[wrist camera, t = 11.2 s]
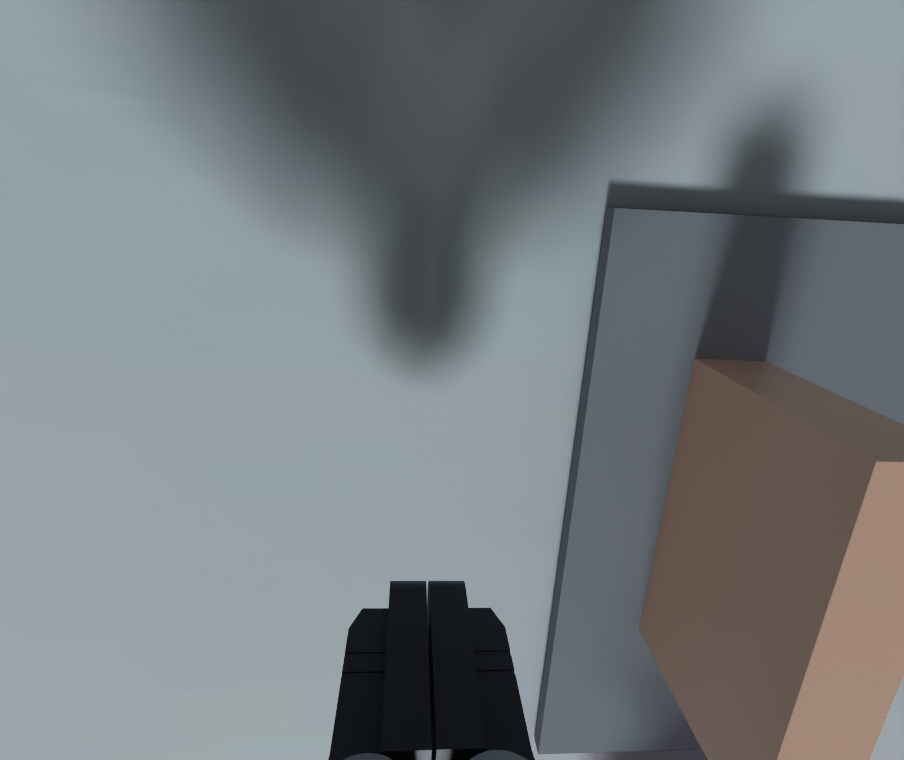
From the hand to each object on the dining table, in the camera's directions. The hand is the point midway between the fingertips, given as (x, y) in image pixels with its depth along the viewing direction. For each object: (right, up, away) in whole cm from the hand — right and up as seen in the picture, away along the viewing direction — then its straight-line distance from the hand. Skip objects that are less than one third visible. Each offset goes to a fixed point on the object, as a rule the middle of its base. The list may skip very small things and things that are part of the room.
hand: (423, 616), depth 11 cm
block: (+8, +1, +5) cm, 9 cm away
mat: (+10, 0, +6) cm, 11 cm away
